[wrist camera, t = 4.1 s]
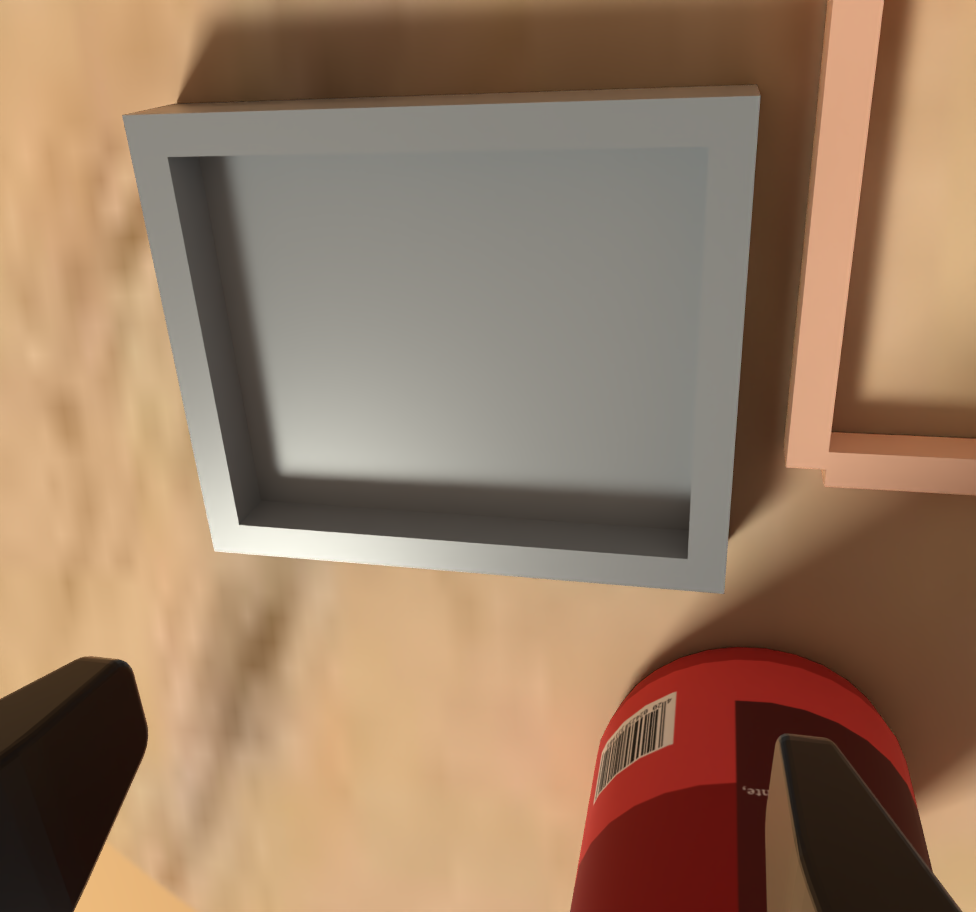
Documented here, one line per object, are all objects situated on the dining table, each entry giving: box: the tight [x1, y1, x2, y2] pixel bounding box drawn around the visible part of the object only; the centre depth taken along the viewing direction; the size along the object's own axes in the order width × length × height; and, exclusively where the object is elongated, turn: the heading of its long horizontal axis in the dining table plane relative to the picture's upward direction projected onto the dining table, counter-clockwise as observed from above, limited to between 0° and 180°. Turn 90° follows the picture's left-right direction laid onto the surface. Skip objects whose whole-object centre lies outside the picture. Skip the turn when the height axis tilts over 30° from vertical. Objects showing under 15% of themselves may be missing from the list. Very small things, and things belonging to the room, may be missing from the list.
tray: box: [122, 84, 760, 594], centre depth 20 cm, size 12×10×2 cm
